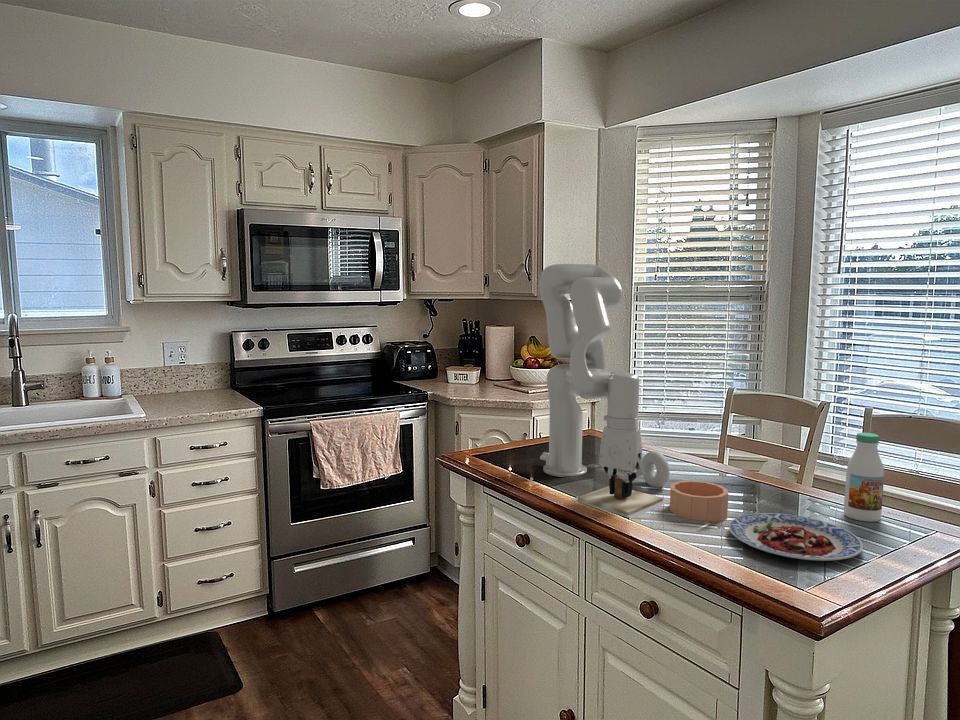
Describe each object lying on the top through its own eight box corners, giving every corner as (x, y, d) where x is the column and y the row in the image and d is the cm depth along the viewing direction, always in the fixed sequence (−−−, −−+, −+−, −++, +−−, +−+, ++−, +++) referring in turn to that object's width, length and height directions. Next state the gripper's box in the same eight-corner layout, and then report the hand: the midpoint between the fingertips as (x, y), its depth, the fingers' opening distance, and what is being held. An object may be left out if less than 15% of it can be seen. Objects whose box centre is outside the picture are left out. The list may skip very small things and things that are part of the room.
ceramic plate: (893, 561, 133) (894, 546, 133) (786, 576, 126) (787, 561, 125) (797, 517, 158) (798, 505, 157) (704, 528, 150) (704, 515, 150)
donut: (671, 492, 175) (673, 455, 174) (661, 493, 174) (662, 456, 173) (648, 481, 185) (649, 446, 183) (637, 483, 183) (639, 447, 182)
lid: (577, 500, 167) (578, 477, 166) (612, 487, 177) (613, 466, 176) (628, 515, 156) (629, 491, 155) (662, 501, 166) (663, 478, 166)
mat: (570, 502, 167) (570, 499, 167) (610, 487, 179) (610, 485, 179) (631, 520, 154) (631, 518, 154) (670, 503, 166) (670, 501, 166)
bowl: (659, 512, 160) (660, 488, 159) (686, 500, 169) (687, 477, 168) (710, 527, 150) (711, 501, 150) (736, 513, 159) (737, 489, 159)
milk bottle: (835, 513, 159) (841, 432, 157) (858, 509, 162) (864, 429, 160) (865, 524, 152) (872, 439, 150) (888, 520, 155) (895, 436, 153)
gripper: (586, 420, 167) (584, 490, 170) (642, 430, 156) (640, 506, 158) (604, 416, 173) (602, 484, 175) (659, 426, 161) (657, 499, 163)
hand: (620, 494), depth 166 cm, fingers closed on lid, 3 cm apart
